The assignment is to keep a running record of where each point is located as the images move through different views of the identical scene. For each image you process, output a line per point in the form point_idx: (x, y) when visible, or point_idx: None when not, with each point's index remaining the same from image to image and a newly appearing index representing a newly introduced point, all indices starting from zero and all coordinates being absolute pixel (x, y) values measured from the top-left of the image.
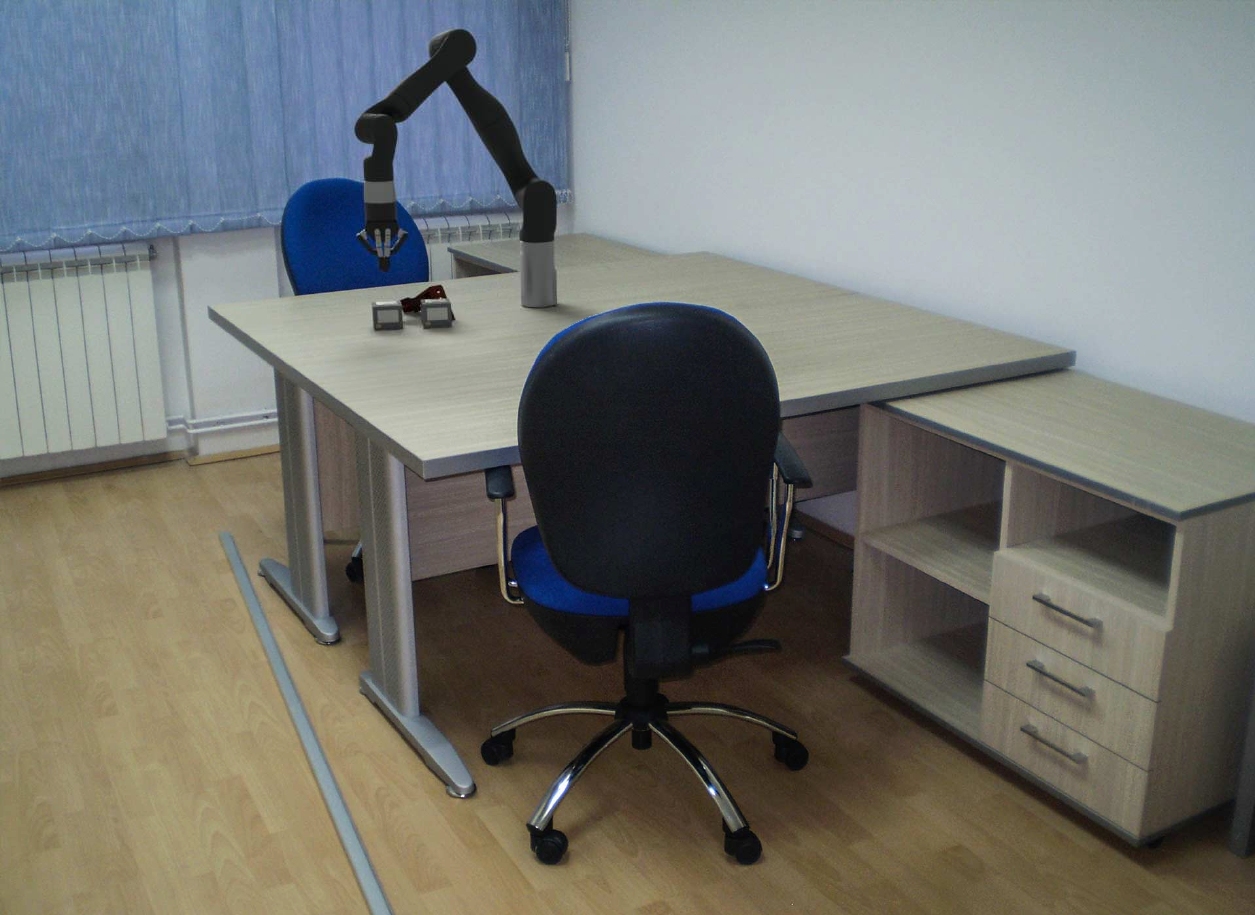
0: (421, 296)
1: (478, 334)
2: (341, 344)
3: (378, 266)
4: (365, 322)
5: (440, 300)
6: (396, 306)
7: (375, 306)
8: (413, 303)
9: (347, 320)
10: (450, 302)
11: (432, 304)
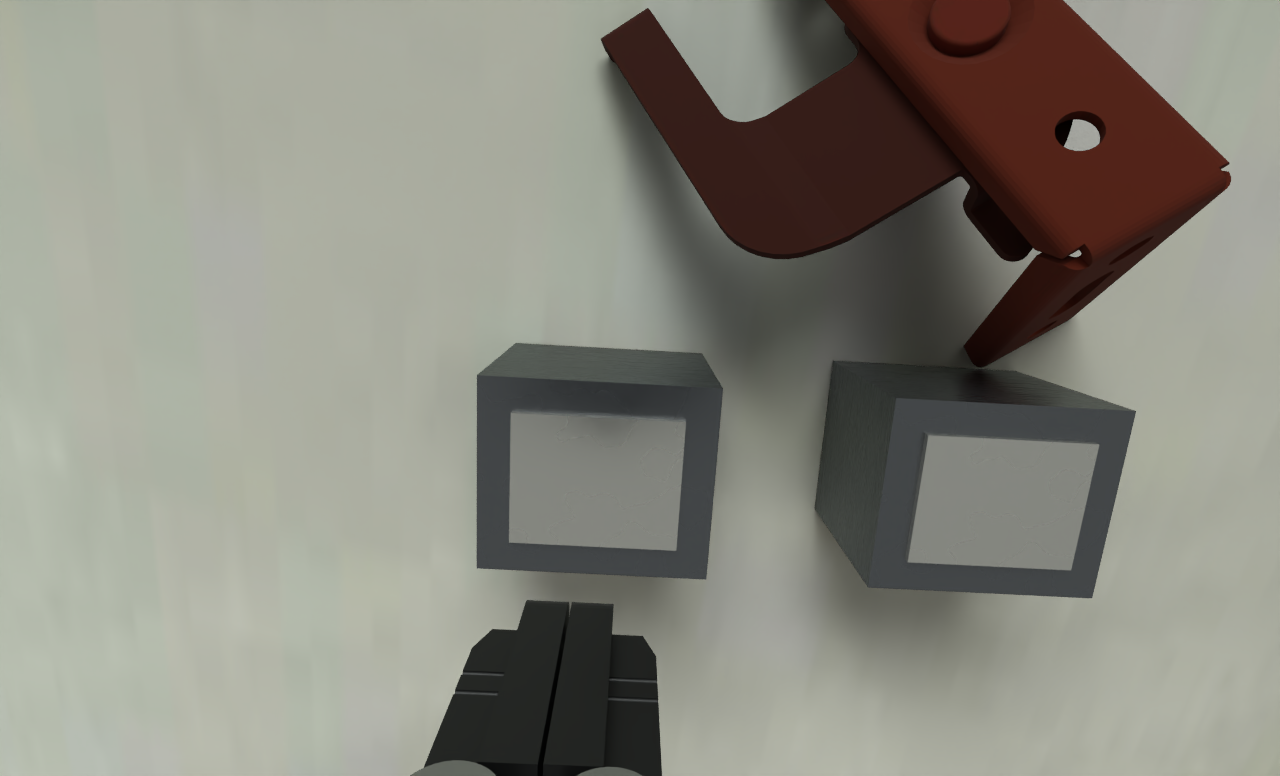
0: (951, 177)
1: (1069, 728)
2: (321, 749)
3: (470, 661)
4: (470, 210)
5: (1041, 509)
6: (663, 573)
7: (498, 559)
8: (866, 74)
9: (344, 97)
10: (1096, 575)
11: (944, 589)
